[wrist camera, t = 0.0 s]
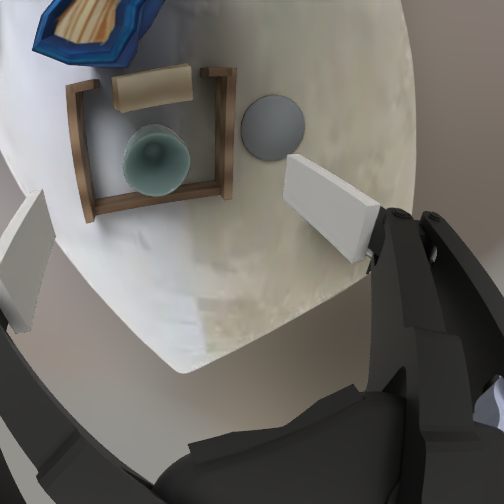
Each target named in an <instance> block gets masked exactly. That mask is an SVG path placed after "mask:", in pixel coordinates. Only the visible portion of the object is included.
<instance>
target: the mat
mask: <svg viewBox="0 0 504 504" xmlns="http://www.w3.org/2000/svg"><path fill="white" fill-rule="evenodd" d="M304 130H305V121H304V116H303V114H302V111H301V110H300V108H299V107H298V105H297V104H296V103H295V102H293V101H292V100H290V99H289V98H286V97H283V96H278V95H271V96H266V97H263V98H261V99H259V100H257V101H255V102H254V103H253V104H252V105H251V106H250V107H249V108H248V110H247V111H246V113H245V115H244V117H243V119H242V123H241V137H242V140H243V143H244V145H245V147H246V148H247V149H248V151H249V152H250V153H252V154H253V155H254V156H256V157H257V158H259V159H262V160H266V161H275V160H280V159H283V158H285V157H287V155H288V154H291V153H292V152H293V151H294V150H295V149H296V148H297V147H298V146H299V144H300V142H301V140H302V138H303V135H304Z"/></svg>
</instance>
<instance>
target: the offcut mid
mask: <svg viewBox="0 0 504 504" xmlns="http://www.w3.org/2000/svg"><path fill="white" fill-rule="evenodd" d="M187 66H188V63H185V64H178V65H172V66H166V67H160V68H155V69H150V70H145V71H140V72H135V73H131V74H127V75H123V76H119V77H115V78H112V81H113V88H114V95H115V101H116V107H117V112H118V111H121V110H120V103H119V95H118V86H117V79H118V78H123V77H127V76H132V75H137V74H142V73H147V72H153V71H159V70H165V69H172V68H179V67H187Z"/></svg>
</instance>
